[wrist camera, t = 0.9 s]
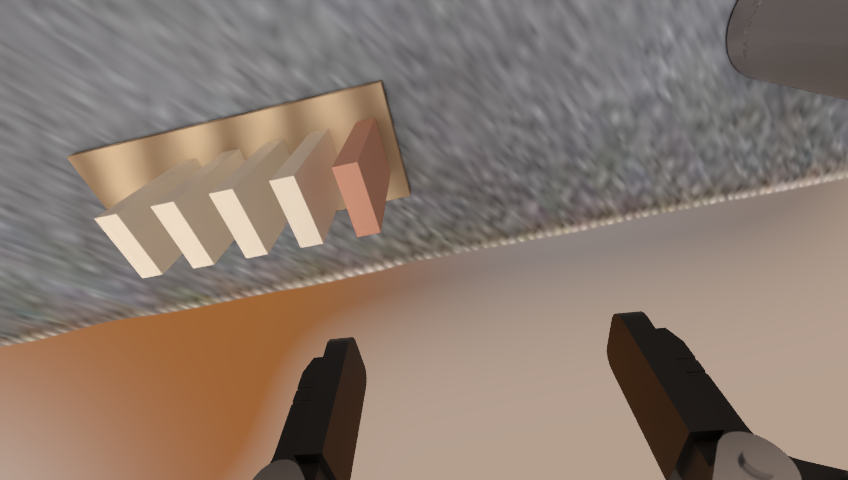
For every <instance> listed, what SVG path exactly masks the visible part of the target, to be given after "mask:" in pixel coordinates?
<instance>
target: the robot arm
mask: <svg viewBox="0 0 848 480" xmlns="http://www.w3.org/2000/svg"><path fill="white" fill-rule="evenodd" d="M727 48H728V55H729V57H730V60H731V62H732V64H733V65H734V67H735V68H736V69H737V70H738V71H739V72H740V73H742V74H744V75H745V76H747V77H750V78H754V79H758V80H763V81H767V82H771V83H776V84H780V85H784V86H789V87H792V88H796V89H801V90H805V91H810V92H814V93H819V94H823V95H828V96H832V97H836V98H841V99H845V100H848V0H738V2H737V5H736V7H735V9H734V11H733V13H732V17H731V20H730V23H729V27H728V34H727ZM607 356H608V360H609V364H610V367H611V369H612V371H613V373H614V375H615V377H616V379H617V381H618V383H619V385H620V387H621V390H622V391H623V394H624V395H625V398H626V400H627V402H628V404H629V406H630V408H631V410H632V412H633V414H634V416H635V418H636V420H637V422H638V424H639V426H640V428H641V430H642V432H643V434H644V436H645V438H646V440H647V442H648V444H649V446H650V449H651V450H652V453H653V455H654V457H655V459H656V461H657V463H658V465H659V467H660V469H661V471H662V473H663V475H664V477H665V479H666V480H848V471H846V470H841V469H837V468H833V467H828V466H824V465H820V464H815V463H811V462H807V461H802V460H799V459H795V458H792V457H790V456H787V454H785V453H784V452H783V451H782V450H781V449H780V448H778V447H777V446H776V445H774V444H773V443H771V442H769V441H768V440H766V439H764V438H761V437H760V436H757V435H754V434H753V433H752V432H751V431H750V430H749V428H748V427H747V426H746V425H745V424H744V422H743V421H742V420H741V418H740V417H739V415H737V413H736V411H735V410H734V409H733V408H732V406H731V405H730V403H729V402H728V401H727V399H726V398H725V397H724V395H723V394H722V393H721V391H720V390H719V389H718V387H717V386H716V385H715V383H714V382H713V381H712V379H711V378H710V377H709V375H708V374H706V373H705V370H704V368H703V367H702V366H701V364H700V363H699V362H698V361H696V359H695V356H694V355H693V354H692V352H691V351H690V350H689V348H688V347H687V346H686V344H685V343H684V342H683V341H682V340H681V339H680V338H678V337H677V336H675V335H674V334H673V333H672V332H670V331H669V330H668V329H666V328H658V329H655V327H654V326H653V325H652V323H651V321H650V320H649V318H648V317H647V316H646V315H645V313H643V312H630V313H618V314H614V315H613V317H612V322H611V328H610V333H609V339H608V345H607ZM365 390H366V370H365V366H364V363H363V360H362V358H361V355H360V352H359V349H358V347H357V344H356V341H355V339H354V338H352V337H351V338H339V339H330V340H329V341H328V343H327V346H326V349H325V353H324V356H323V357H318V358H314V359H313V360H312V361H311V363H310V364H309V365H308V366H307V368H306V369H305V370H304V372H303V373H302V377H301V379H300V382H299V385H298V391H296V394H295V396H294V399H293V405H291V408H290V411H289V414H288V417H287V420H286V422H285V425H284V428H283V431H282V434H281V437H280V440H279V443H278V446H277V448H276V451H275V454H274V456H273V459H272V461H271V463H270V464H269V465H267V466H266V467H264V468H263V469H262V470H261V471H260V472H259V473H258V474H257V475H256V476H255V477H254V478H253V480H350V478H351V472H352V466H353V460H354V454H355V448H356V443H357V437H358V431H359V425H360V419H361V413H362V407H363V401H364V395H365Z"/></svg>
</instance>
